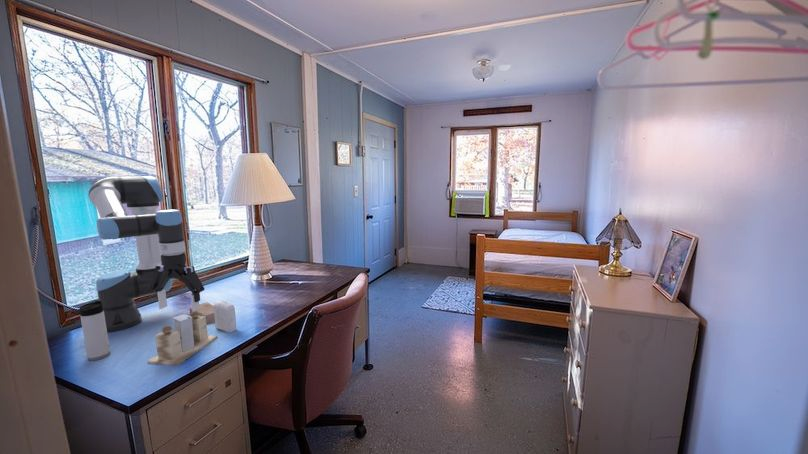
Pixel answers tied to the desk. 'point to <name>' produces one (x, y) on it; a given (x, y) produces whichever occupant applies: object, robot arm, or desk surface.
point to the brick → (206, 312)
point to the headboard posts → (171, 342)
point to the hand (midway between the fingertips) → (179, 308)
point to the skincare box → (184, 331)
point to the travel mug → (94, 330)
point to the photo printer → (225, 316)
